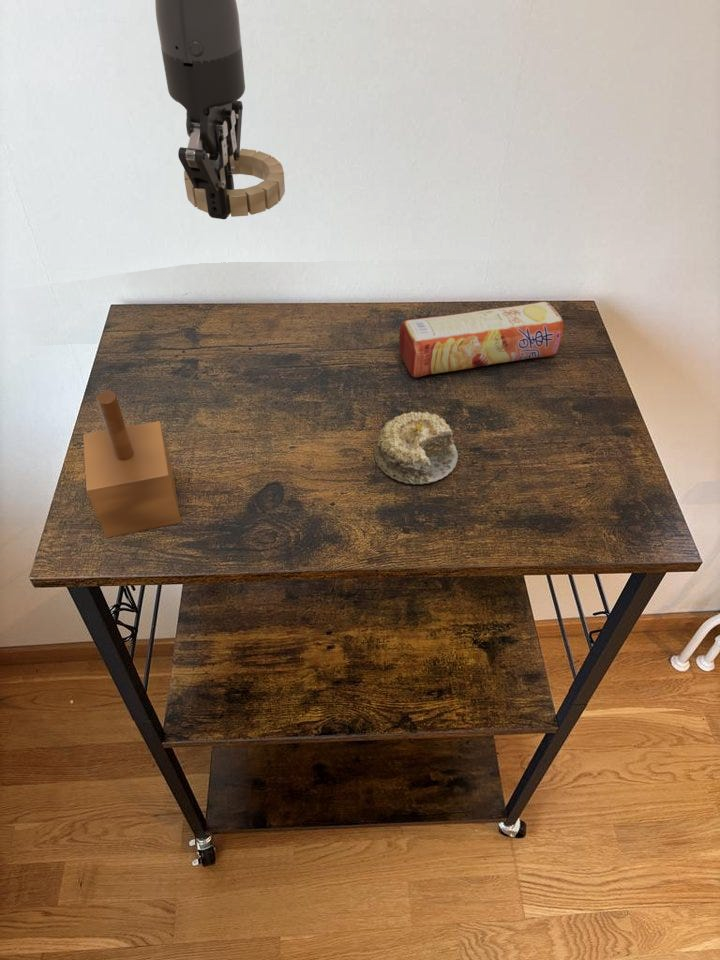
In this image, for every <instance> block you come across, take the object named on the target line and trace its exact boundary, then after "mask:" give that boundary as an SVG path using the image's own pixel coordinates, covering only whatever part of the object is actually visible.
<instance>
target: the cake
mask: <svg viewBox="0 0 720 960" xmlns="http://www.w3.org/2000/svg"><path fill="white" fill-rule="evenodd" d="M450 427H451V426H450V424H447V420H445V419H444V418H443V417H441V416H440V415H438V414H436V413H433V414H431V413H429V411H425V412H421V411H418V412H417V411H410V412H404V413H402V414H400V415H397V416H395V417H393V419H392V420H389V421H387V422H386V423H385V424H384V426H383V427H381V429H380V431H379V435H378V437H377V443H376V444H375V449H374V455H373V456H374V461H375V462H376V464H377V467H378V468H380V470H381V471H382V473H384V474H385V475H386V476H387V477H389V478H391V479H393V480H396V481H397V482H400V483H404V484H406V485H407V484H410V485H425V484H426V485H428V484H430V483H436V482H437V481H439V480H440V481H441V480H443V479H444V478H446V477H447V476H449V475H450V474H451V473H452V472H454V471H453V470H454V469H456V466H457V464H458V459H459V452H458V450H457V447H456V445H455V444H454V443H455V440H453V439H454V438H453V434H454V432H453V430H452V429H451V428H450Z"/></svg>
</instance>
